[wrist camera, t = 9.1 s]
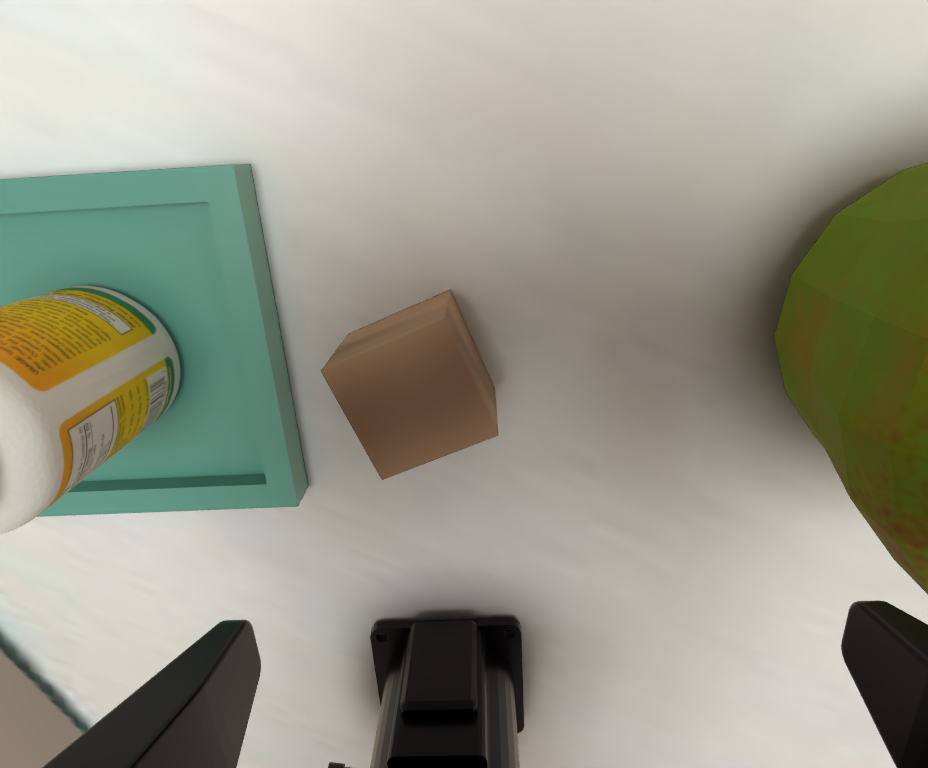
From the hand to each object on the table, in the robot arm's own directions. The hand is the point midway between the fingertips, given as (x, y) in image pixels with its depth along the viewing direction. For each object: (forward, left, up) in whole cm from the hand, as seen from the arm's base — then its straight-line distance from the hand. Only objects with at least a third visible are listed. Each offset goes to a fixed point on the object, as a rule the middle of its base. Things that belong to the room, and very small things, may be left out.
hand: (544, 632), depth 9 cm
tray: (+1, +14, -13) cm, 19 cm away
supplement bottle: (+1, +14, -13) cm, 19 cm away
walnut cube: (0, +3, -13) cm, 13 cm away
